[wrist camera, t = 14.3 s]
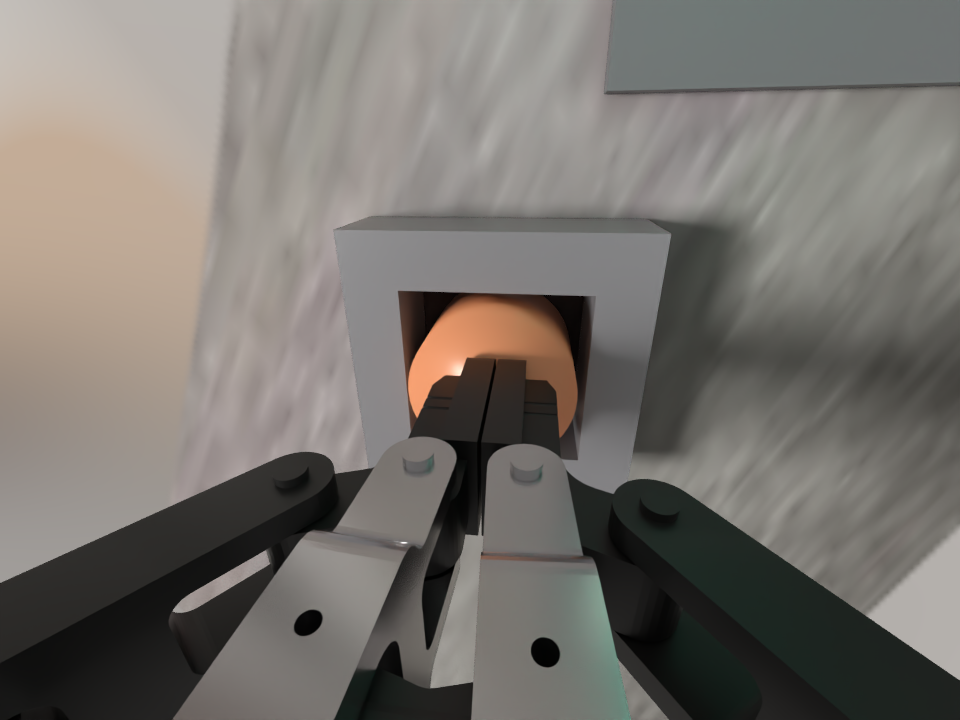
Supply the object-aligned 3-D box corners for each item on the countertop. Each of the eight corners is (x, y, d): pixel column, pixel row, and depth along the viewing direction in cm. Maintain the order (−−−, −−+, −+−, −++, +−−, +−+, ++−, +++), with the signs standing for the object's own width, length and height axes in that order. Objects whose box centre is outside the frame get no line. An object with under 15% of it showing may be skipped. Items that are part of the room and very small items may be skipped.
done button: (564, 411, 15) (570, 469, 12) (436, 403, 15) (414, 457, 12) (575, 283, 13) (585, 318, 10) (429, 279, 13) (401, 312, 11)
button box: (611, 452, 15) (623, 503, 13) (394, 438, 16) (371, 482, 14) (646, 219, 12) (671, 233, 10) (369, 216, 13) (333, 229, 11)
